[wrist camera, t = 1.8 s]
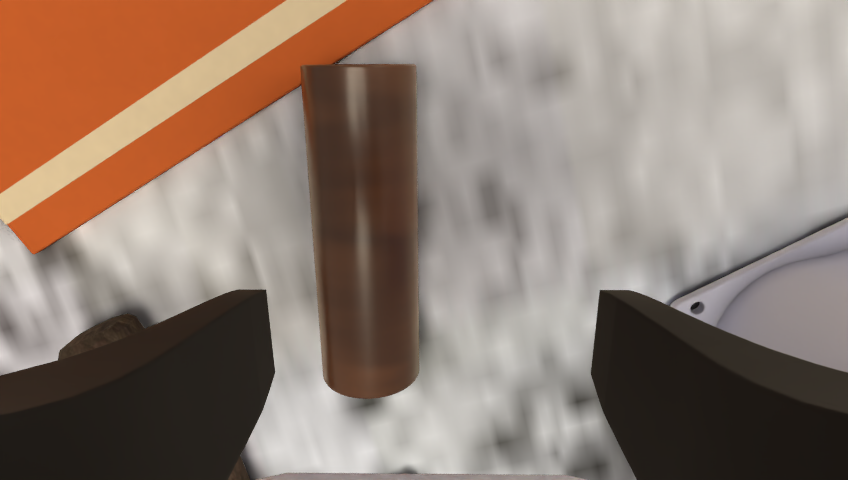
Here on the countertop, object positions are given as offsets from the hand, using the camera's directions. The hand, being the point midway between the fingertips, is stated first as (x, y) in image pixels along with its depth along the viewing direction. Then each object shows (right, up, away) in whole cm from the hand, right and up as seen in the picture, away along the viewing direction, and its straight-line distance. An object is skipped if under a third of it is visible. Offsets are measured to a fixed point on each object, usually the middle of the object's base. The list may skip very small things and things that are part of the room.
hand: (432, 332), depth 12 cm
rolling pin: (-2, +2, +7) cm, 8 cm away
